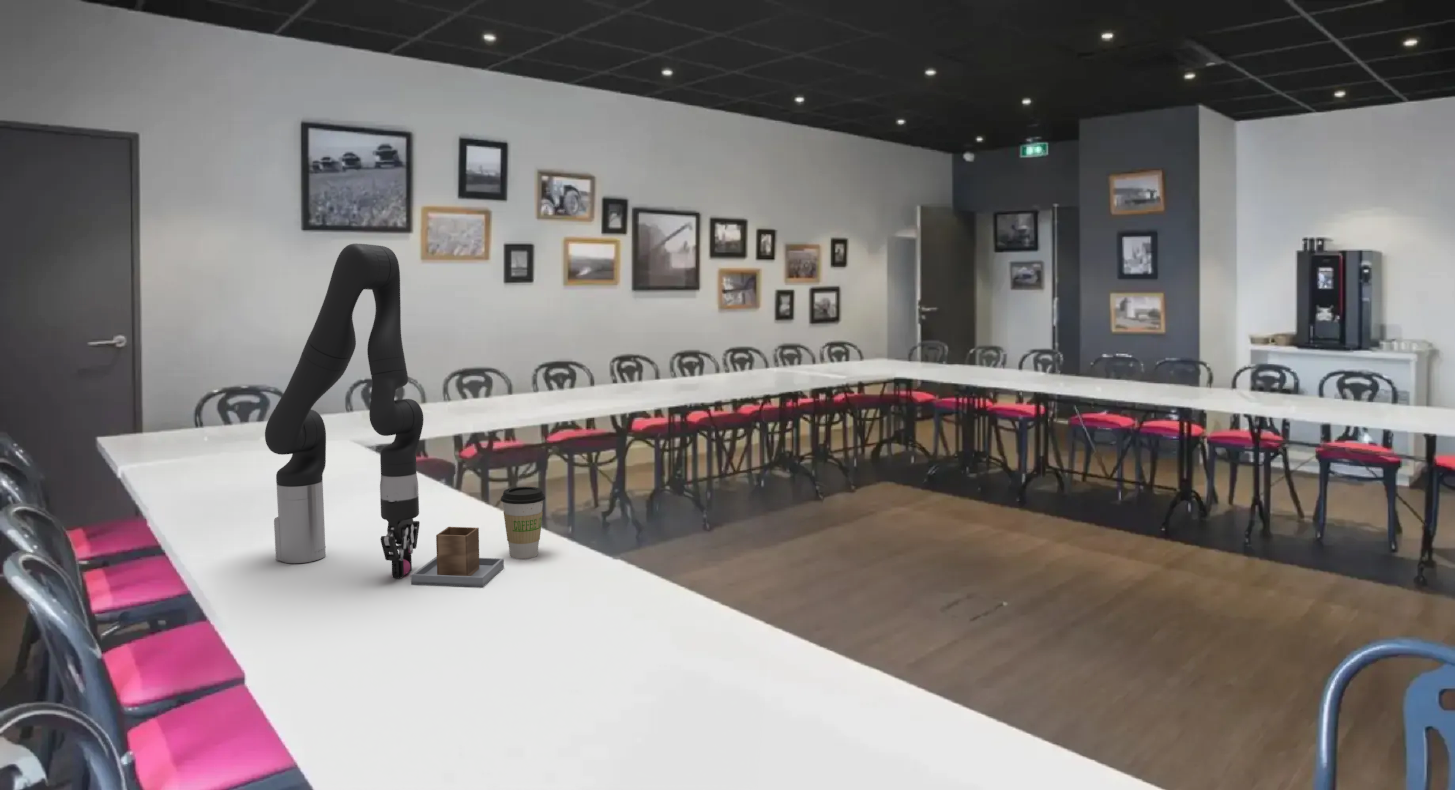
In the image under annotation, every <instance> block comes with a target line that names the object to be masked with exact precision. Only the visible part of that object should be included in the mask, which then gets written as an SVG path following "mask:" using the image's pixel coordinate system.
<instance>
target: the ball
mask: <svg viewBox="0 0 1455 790" xmlns="http://www.w3.org/2000/svg"><path fill="white" fill-rule="evenodd" d="M403 567H404V576H406V575H408V573H410V572H411V571H410V563H409V562H408V561H407V560H405V559H403ZM409 571H410V572H409Z"/></svg>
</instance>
